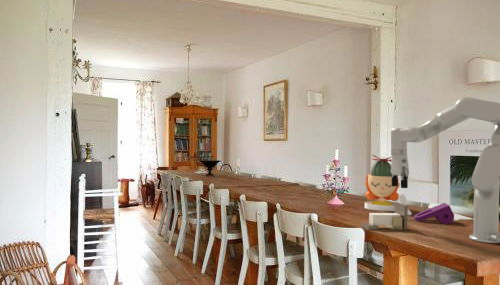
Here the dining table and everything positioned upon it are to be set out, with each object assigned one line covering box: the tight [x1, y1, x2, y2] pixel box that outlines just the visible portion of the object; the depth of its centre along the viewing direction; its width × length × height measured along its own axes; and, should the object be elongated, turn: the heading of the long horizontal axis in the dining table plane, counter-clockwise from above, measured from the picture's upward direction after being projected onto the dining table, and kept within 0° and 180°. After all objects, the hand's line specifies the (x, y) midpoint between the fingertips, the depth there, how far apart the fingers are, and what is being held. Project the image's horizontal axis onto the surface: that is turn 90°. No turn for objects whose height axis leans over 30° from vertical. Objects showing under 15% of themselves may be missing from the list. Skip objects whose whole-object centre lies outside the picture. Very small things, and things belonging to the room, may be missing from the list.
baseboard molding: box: [424, 207, 473, 222], centre depth 233 cm, size 31×3×12 cm
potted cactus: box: [363, 154, 401, 212], centre depth 257 cm, size 22×22×35 cm
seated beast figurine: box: [398, 193, 413, 216], centre depth 236 cm, size 10×9×12 cm
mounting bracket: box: [413, 202, 455, 225], centre depth 215 cm, size 10×9×19 cm
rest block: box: [361, 221, 379, 231], centre depth 194 cm, size 8×5×2 cm, turn 4°
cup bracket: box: [384, 201, 409, 231], centre depth 194 cm, size 11×7×12 cm, turn 4°
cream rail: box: [368, 212, 401, 226], centre depth 194 cm, size 14×5×5 cm, turn 94°
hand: (399, 187), depth 195 cm, fingers open, 9 cm apart
